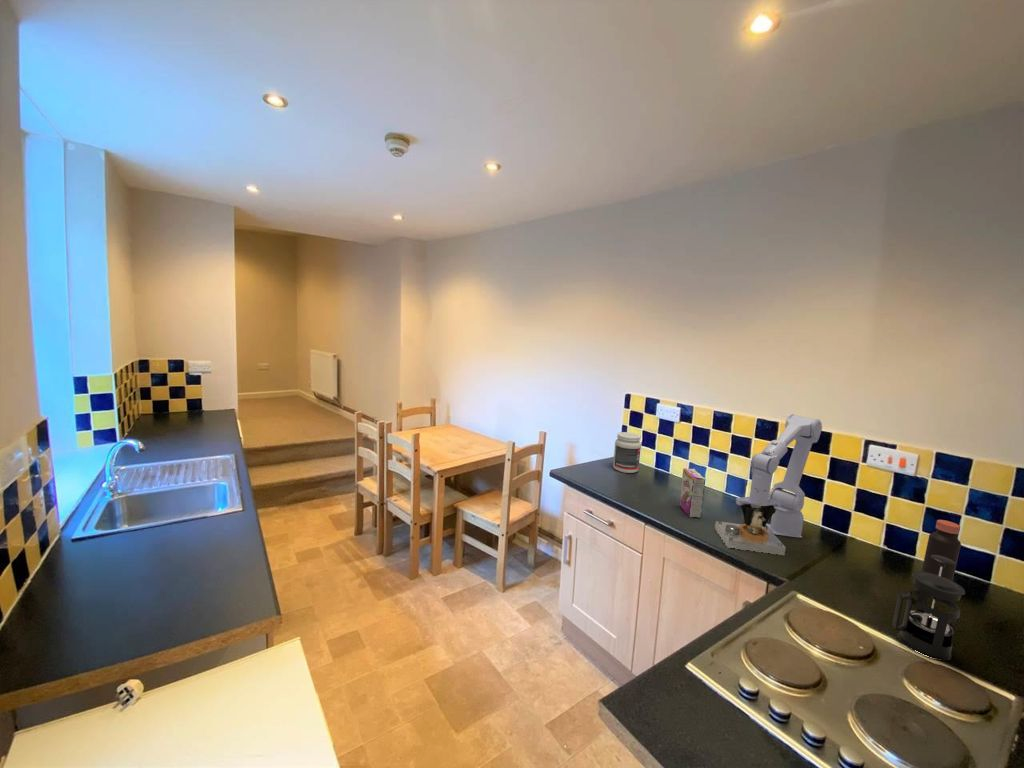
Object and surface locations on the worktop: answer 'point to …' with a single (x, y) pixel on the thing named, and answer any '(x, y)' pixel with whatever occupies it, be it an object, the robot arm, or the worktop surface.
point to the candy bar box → (692, 492)
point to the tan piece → (756, 521)
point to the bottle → (942, 548)
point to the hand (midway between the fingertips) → (754, 524)
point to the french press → (925, 622)
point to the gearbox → (749, 538)
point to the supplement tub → (627, 452)
